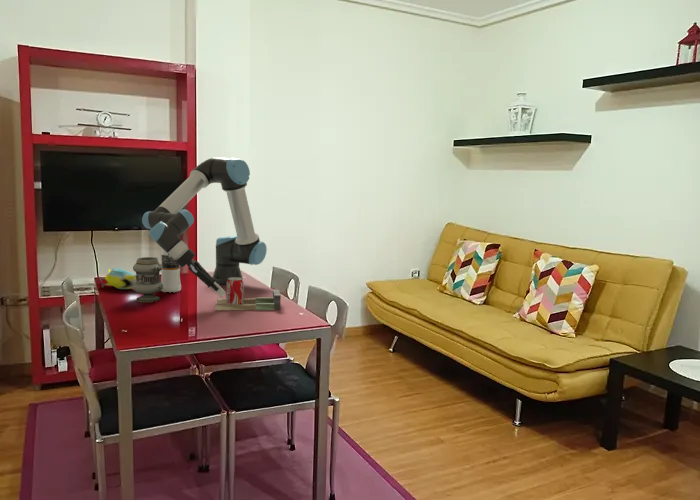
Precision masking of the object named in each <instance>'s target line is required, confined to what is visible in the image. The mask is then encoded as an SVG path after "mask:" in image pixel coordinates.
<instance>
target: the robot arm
mask: <svg viewBox="0 0 700 500" xmlns="http://www.w3.org/2000/svg"><path fill="white" fill-rule="evenodd" d="M250 174H251V170H250V168H249V165H248V163H247V162H246V160H243V159H241V158H237V157H211V158H208V159H206V160H204V161H203V162H201V163H199V164H198V165H197V166H196V167H195V168H193V169H192V170H191V171H190V173H189V177H188V178H186V179H185V180H184V181H183V182H182V183H181V184H180V185H179V186H178V187H177V188H176V189H175V190H174V191H173V192H172V193H171V194H170V195H169V196H168V197H167V198H166V199H165V200H164V201H162V203H161V204H160V205H158V206H157V208H155V210H152V211H151V210H150V211H146V212H145V213H144V214H143V216H142V219H141V220H142V221H141V222H142V224H143V227H145V228H146V229H148V230H149V231H148V235H149V236H150V238H151V239H152V240H153V241H154V242H155V243H157V245H158V246H160V248H161V247H162V248H163V249H164V250H165V251H166V252H167V253H168V254H169V257H172V258H173V259H174V260H175V259H176V261H177V263H178V264H179V265H180V267H181V268H184V267H185V266H187V267H188V270H189V271H190V272H191V273H192V274H193V275H195V276H196V277H197V278H198V279H200V281H201V282H202V283H204V284H205V285H206V287H207V288H211V289H212V290H213V291H214V292H215V294H217V295H218V296H219V297H220V298H222V297H223V296H226V291H225V290H224V289H223V288H222V287H221V286H220V285H227V281H228V278H231V277H239V278H242V281H243V280H244V278H243V277H244V276H243V275H242V271H241V268H240V264H247V265H250V266H253V265H255V266H257V265H260V264H262V263H263V261H264V260H265V258H266V255H267V250H268V248H267V245H266V243H265V242H264V241H261V240H260V236H259V234H258V233H256V232H255V228H254V224H253V220H252V215H251V211H250V210H251V209H250V206H249V203H248V202H249V201H248V196H247V193H246V187H247V185H248V182H249V180H250V176H251V175H250ZM214 183H215V184H216V183H218V184H220V185H221V190H223V191H224V192H226V196H227V200H228V204H229V205H228V206H229V209H230V212H231V216H232V220H233V225H234V228H235V233H236V235H231V236H229V235H228V236H221V237H218V238H216V242H215V268H214V271H213V274H212V276H211V274H209V272H208V271H207V270H206V269H205V268H204V267H203V266H202V265H201V263H200V262H198V261H197V260H195V259H193V258H194V257H196V254H195V252H194V251H193V250H192V249H191V248H189V246H188V245H187V244H186V243H185V242H184V241H183V240H181V238H180V237H181V235H182V234H184V233H185V232H186V231H187V230H188V229H189V228H190V227H191V226H192V225H193V224H194V222H195V218H194V216H193V214H192V213H191V212H190V211H189V210H188V209H183V208H184V207H185V206H186V205H187V204H188V203H189V202H190V201H191V200H192V199H193V198H194V197H195V196H196V195H197V194H198V193H199V192H200V191H201V190H202V189H205V188H207V187H208V186H209V185H211V184H214ZM176 244H177V245H176ZM175 245H176V246H175ZM243 282H244V281H243Z"/></svg>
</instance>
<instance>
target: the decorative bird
mask: <svg viewBox="0 0 700 500" xmlns="http://www.w3.org/2000/svg"><path fill="white" fill-rule="evenodd" d="M99 280H105V281H106V282H107V283H103V282H102V281H100V282H101V287H104V286H109V287H110V286H112V287H114V288H116V289H119V290H134V289H133V285H134V284H135V283H136V273H133V272H131V271H128V270H124V269H123V268H120V267H115V268H112V270H111V269H110V267H108V272H107V274H106V275H105V276H104V277H101V276H99Z"/></svg>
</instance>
